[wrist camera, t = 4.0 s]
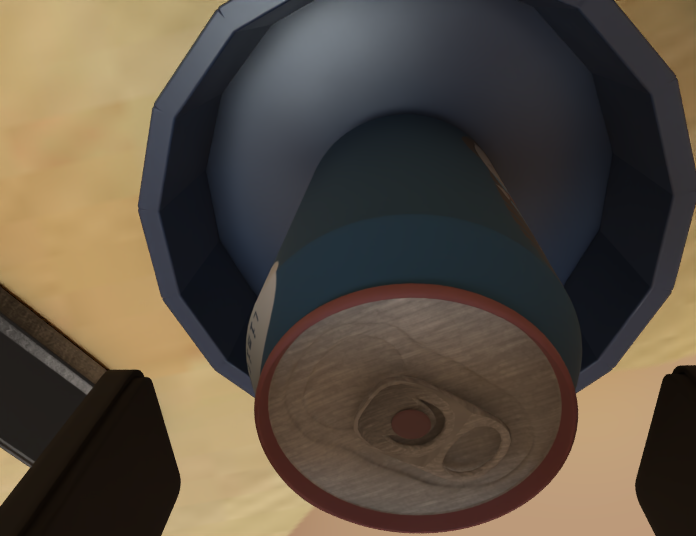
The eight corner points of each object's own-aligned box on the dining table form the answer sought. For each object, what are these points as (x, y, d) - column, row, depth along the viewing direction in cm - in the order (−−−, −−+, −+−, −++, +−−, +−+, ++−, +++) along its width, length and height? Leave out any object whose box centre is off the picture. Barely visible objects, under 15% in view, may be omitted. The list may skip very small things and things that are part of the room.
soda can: (283, 230, 21) (168, 472, 10) (366, 69, 18) (324, 174, 7) (431, 304, 22) (466, 593, 11) (532, 165, 19) (713, 381, 8)
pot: (670, -72, 15) (777, -99, 11) (588, 362, 23) (633, 447, 19) (151, -29, 17) (70, -38, 13) (233, 363, 25) (199, 441, 20)
